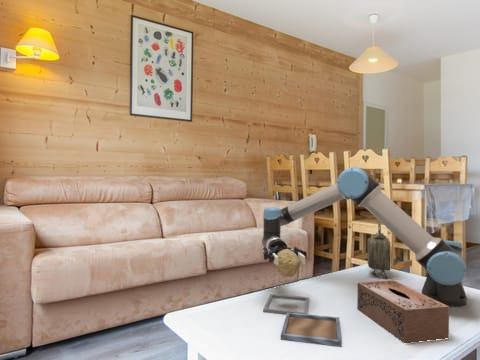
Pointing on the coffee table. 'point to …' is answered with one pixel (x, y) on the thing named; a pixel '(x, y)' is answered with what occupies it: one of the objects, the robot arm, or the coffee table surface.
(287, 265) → the coral
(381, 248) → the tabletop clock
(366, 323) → the coffee table surface
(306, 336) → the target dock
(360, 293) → the tissue box cover
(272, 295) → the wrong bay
